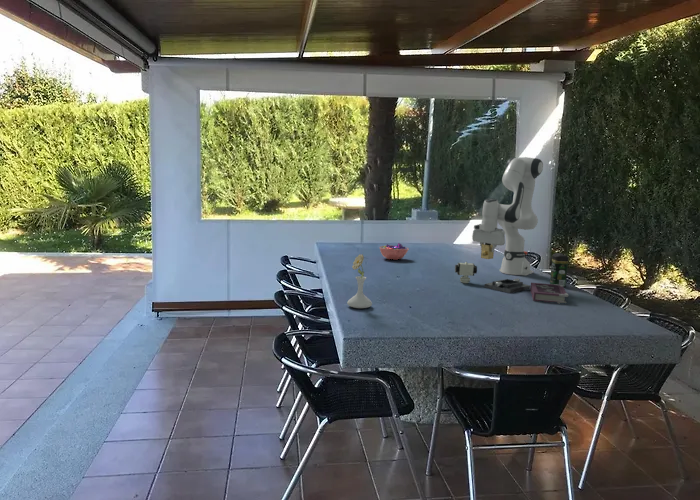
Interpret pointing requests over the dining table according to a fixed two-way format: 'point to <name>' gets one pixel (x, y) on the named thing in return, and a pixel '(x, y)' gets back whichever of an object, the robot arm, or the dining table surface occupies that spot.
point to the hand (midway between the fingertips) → (487, 251)
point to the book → (548, 292)
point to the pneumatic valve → (465, 271)
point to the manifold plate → (507, 285)
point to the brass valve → (487, 251)
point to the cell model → (393, 251)
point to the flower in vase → (359, 287)
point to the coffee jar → (559, 269)
